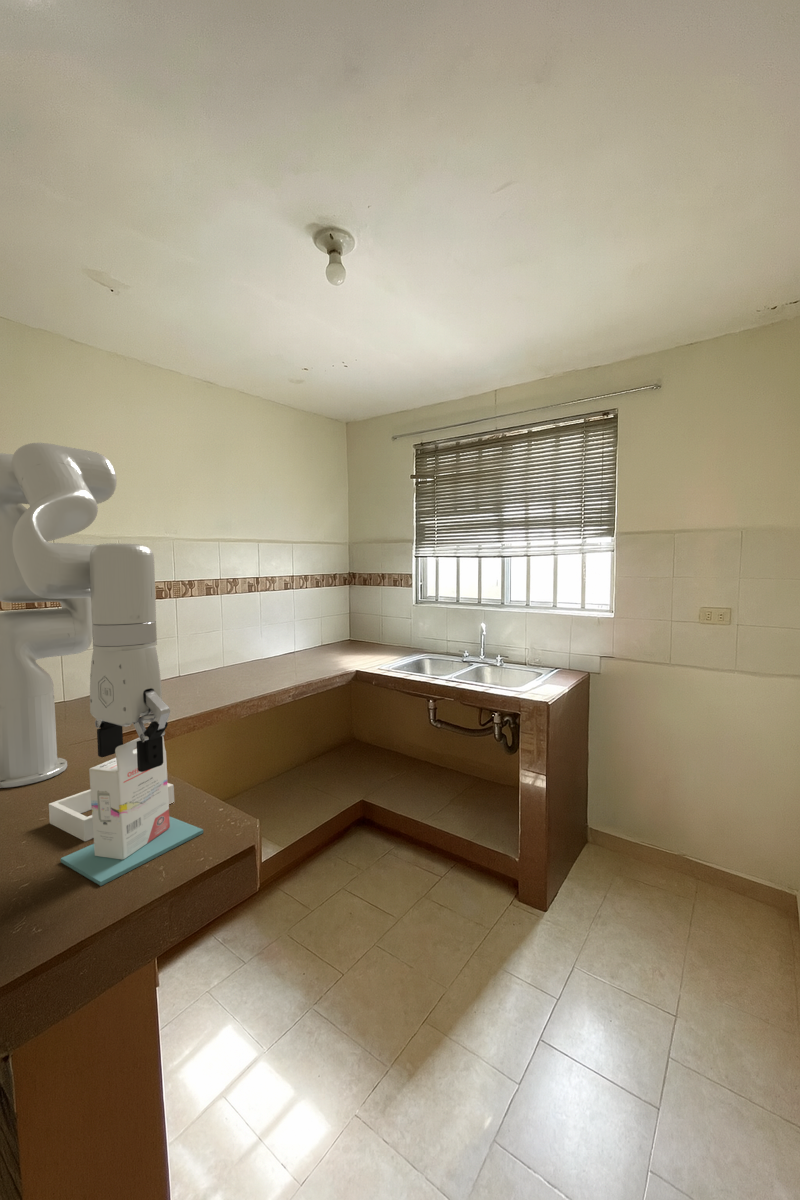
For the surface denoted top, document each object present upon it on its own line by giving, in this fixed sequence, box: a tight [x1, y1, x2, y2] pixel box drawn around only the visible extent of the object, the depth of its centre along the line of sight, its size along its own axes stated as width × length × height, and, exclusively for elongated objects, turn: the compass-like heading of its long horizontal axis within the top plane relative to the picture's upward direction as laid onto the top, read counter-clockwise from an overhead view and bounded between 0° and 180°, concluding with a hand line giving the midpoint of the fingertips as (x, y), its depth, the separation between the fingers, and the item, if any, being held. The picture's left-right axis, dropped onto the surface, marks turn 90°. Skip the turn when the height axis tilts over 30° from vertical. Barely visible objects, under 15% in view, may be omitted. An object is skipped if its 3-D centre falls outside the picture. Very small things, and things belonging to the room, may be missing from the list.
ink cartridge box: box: [88, 737, 170, 860], centre depth 66 cm, size 9×5×15 cm, turn 164°
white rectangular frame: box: [48, 782, 175, 842], centre depth 77 cm, size 11×14×3 cm
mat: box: [60, 815, 204, 887], centre depth 66 cm, size 10×14×1 cm
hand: (130, 760), depth 66 cm, fingers open, 9 cm apart
